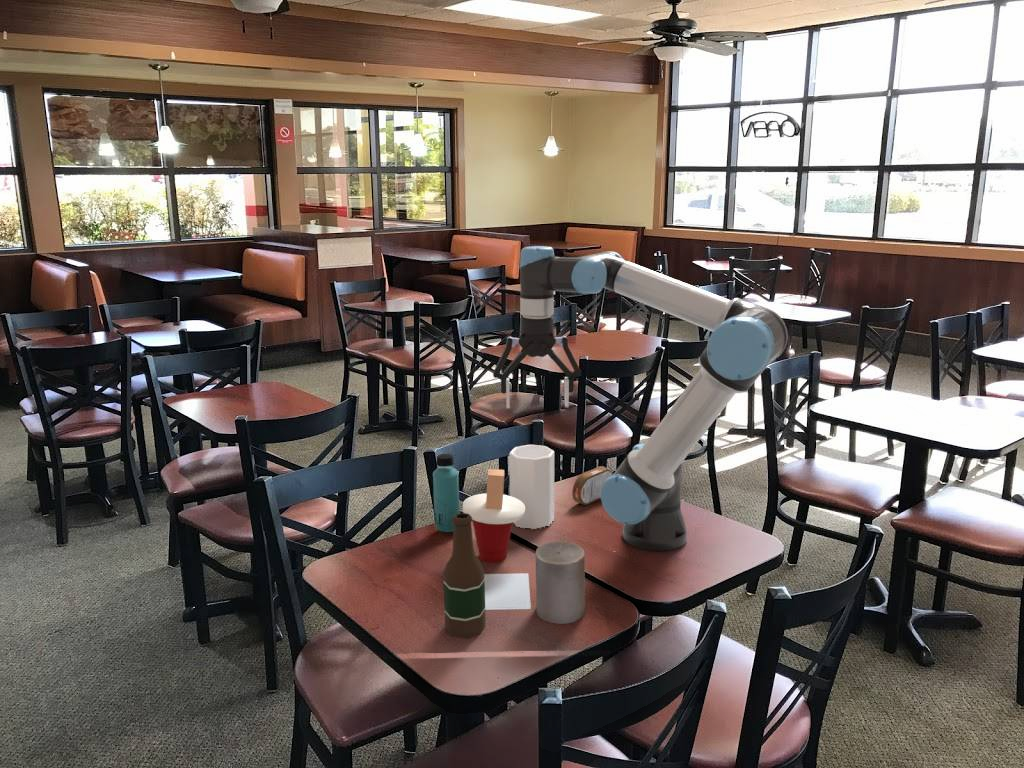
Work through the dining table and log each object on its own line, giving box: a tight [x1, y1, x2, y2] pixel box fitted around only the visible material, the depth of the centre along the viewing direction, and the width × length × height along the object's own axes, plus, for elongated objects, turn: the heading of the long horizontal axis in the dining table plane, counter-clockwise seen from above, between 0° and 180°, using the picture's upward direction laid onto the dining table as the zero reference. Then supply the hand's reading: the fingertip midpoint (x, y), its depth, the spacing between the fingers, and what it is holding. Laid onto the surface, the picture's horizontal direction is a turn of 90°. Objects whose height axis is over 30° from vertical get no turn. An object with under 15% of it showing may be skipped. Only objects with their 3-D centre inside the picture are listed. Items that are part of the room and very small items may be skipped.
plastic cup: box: [472, 520, 514, 563], centre depth 185 cm, size 11×11×12 cm
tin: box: [571, 465, 614, 506], centre depth 219 cm, size 15×3×8 cm, turn 136°
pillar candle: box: [535, 541, 586, 625], centre depth 161 cm, size 10×10×15 cm
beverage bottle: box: [432, 453, 461, 533], centre depth 198 cm, size 6×7×20 cm
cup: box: [508, 444, 555, 530], centre depth 205 cm, size 11×11×18 cm
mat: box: [484, 572, 532, 611], centre depth 171 cm, size 15×15×1 cm
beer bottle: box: [442, 512, 486, 640], centre depth 154 cm, size 8×8×24 cm
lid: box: [462, 468, 525, 524], centre depth 182 cm, size 14×14×9 cm
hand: (537, 406), depth 190 cm, fingers open, 13 cm apart
